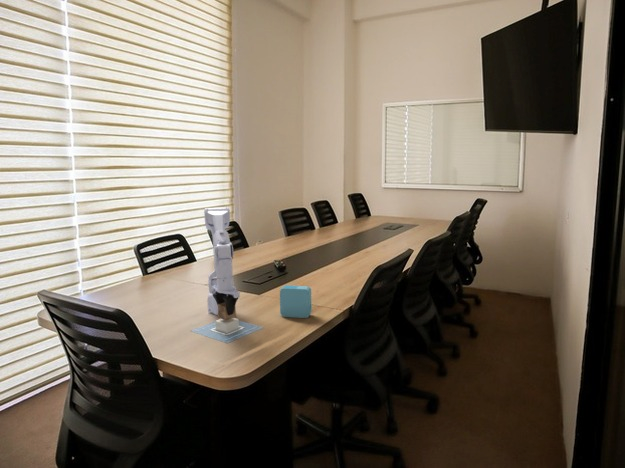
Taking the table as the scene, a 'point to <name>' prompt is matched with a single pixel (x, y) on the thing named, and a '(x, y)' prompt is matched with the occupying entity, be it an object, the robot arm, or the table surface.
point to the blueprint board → (227, 337)
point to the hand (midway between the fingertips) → (226, 313)
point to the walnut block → (225, 312)
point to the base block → (227, 325)
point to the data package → (295, 301)
